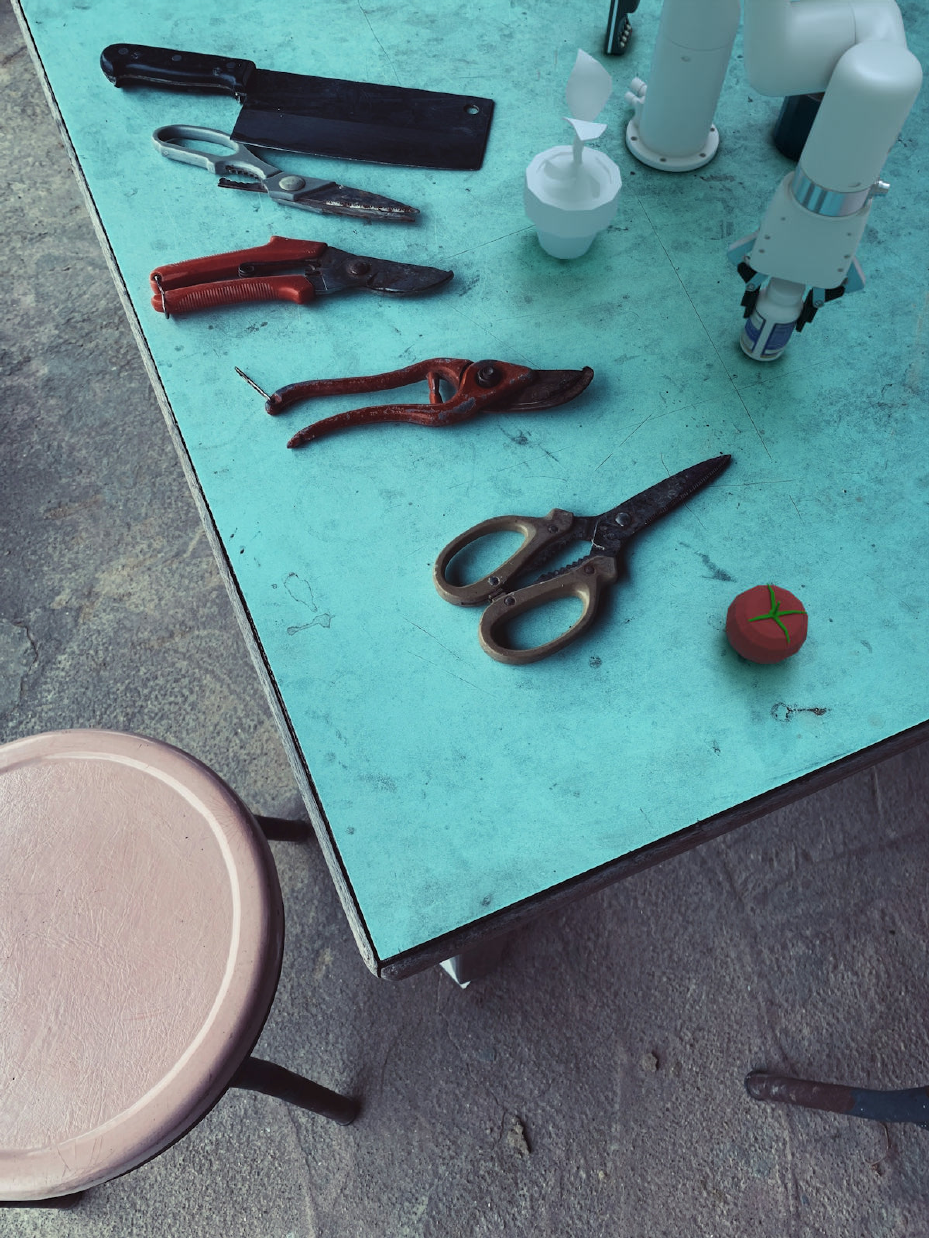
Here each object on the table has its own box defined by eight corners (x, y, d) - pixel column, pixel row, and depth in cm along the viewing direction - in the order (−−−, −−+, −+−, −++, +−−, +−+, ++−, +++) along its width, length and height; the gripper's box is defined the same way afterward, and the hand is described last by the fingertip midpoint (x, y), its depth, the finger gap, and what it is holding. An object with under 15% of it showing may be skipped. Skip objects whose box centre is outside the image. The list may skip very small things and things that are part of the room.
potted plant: (527, 205, 121) (544, 8, 99) (615, 218, 120) (652, 23, 98) (509, 274, 116) (523, 83, 93) (601, 289, 115) (638, 99, 92)
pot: (757, 137, 128) (777, 78, 120) (805, 107, 131) (826, 47, 123) (813, 175, 125) (837, 117, 117) (860, 143, 127) (886, 84, 120)
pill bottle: (789, 337, 112) (818, 275, 103) (776, 368, 110) (805, 308, 101) (746, 322, 113) (771, 259, 104) (733, 353, 110) (757, 292, 102)
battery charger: (627, 59, 135) (642, -24, 125) (602, 54, 135) (614, -29, 125) (637, 31, 138) (653, -52, 128) (613, 26, 138) (626, -57, 128)
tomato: (788, 604, 96) (814, 568, 89) (801, 673, 92) (830, 641, 86) (711, 605, 96) (731, 569, 89) (722, 674, 92) (744, 643, 85)
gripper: (924, 177, 91) (852, 311, 107) (752, 138, 93) (707, 276, 109) (916, 229, 88) (843, 359, 104) (738, 187, 90) (694, 322, 106)
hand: (774, 315), depth 107 cm, fingers closed on pill bottle, 5 cm apart
